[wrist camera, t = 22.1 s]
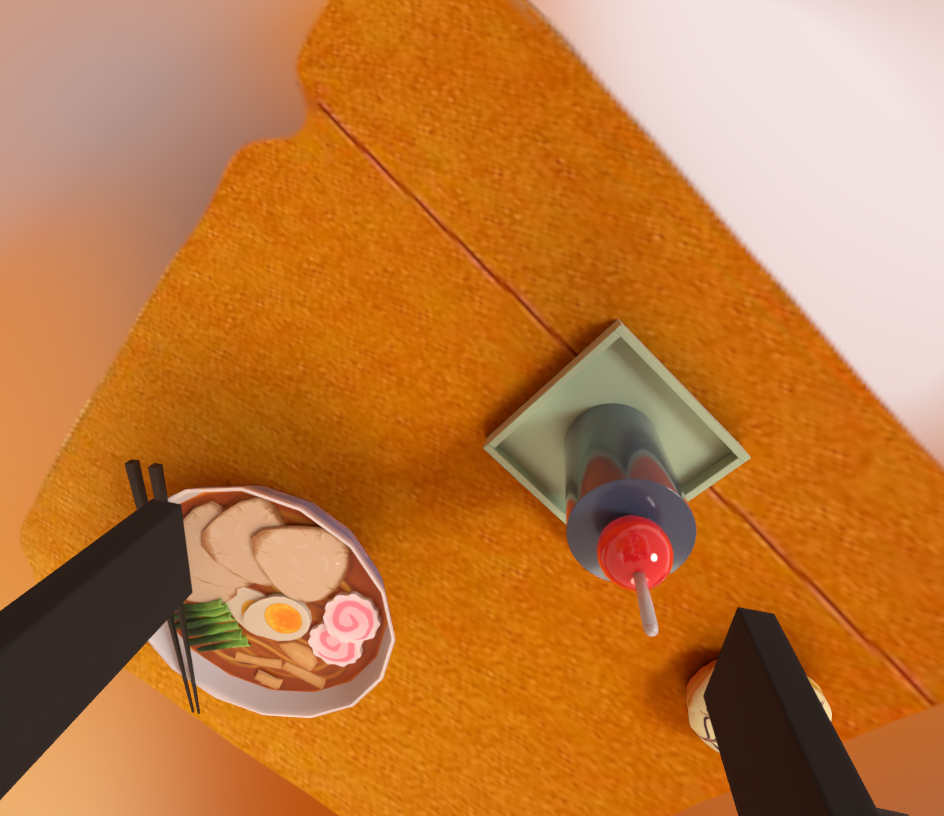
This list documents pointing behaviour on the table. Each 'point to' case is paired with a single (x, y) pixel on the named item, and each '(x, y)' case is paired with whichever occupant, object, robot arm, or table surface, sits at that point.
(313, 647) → the ramen bowl
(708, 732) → the decorated donut
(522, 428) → the serving tray
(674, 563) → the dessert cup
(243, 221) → the table surface
